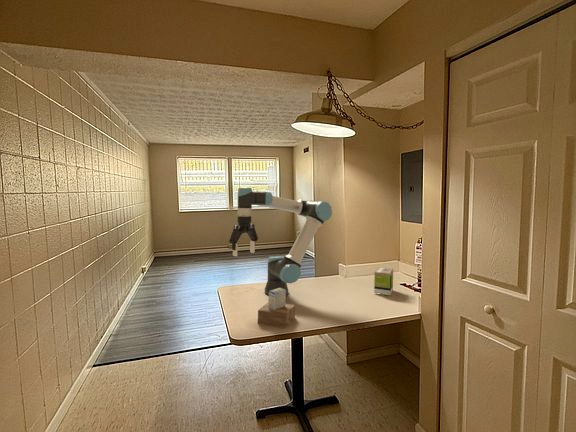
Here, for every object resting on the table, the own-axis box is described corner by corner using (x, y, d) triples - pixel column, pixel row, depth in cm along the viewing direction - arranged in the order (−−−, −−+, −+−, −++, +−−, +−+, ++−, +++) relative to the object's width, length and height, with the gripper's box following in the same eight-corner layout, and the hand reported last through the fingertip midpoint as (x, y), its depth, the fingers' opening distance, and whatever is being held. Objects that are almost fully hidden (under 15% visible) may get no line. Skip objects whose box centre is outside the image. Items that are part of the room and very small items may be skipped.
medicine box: (279, 304, 157) (279, 287, 156) (285, 306, 154) (286, 289, 153) (268, 308, 151) (268, 290, 150) (274, 310, 148) (275, 292, 147)
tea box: (377, 288, 212) (378, 266, 211) (393, 290, 208) (394, 268, 207) (373, 294, 199) (374, 271, 198) (389, 296, 194) (390, 273, 193)
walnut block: (269, 314, 162) (269, 301, 161) (294, 318, 157) (295, 304, 157) (257, 324, 148) (258, 310, 148) (285, 329, 144) (285, 314, 143)
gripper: (254, 214, 182) (254, 250, 183) (222, 216, 162) (222, 256, 163) (264, 215, 178) (263, 252, 179) (232, 217, 157) (232, 258, 159)
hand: (243, 254), depth 171 cm, fingers open, 13 cm apart
